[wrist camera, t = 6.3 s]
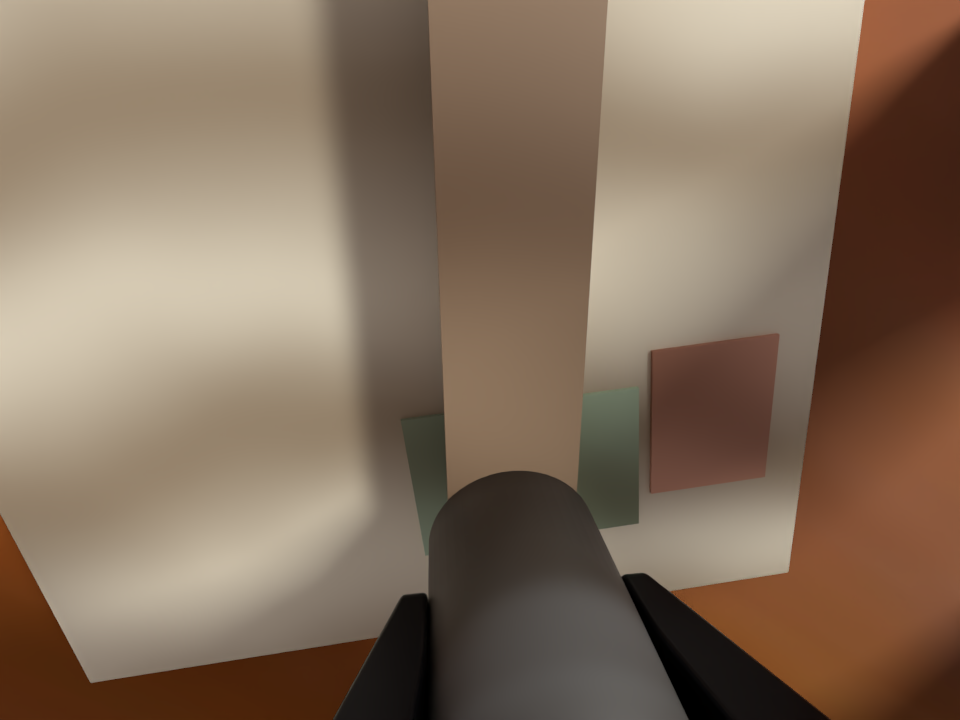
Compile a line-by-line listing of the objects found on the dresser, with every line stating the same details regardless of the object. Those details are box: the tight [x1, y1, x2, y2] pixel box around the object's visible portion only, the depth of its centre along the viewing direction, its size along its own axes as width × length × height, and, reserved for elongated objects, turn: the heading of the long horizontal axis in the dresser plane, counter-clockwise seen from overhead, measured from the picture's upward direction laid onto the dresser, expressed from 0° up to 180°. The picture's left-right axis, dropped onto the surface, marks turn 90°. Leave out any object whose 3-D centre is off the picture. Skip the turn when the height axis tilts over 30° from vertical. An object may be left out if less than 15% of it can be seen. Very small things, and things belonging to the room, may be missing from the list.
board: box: [0, 0, 865, 683], centre depth 10 cm, size 23×18×2 cm
